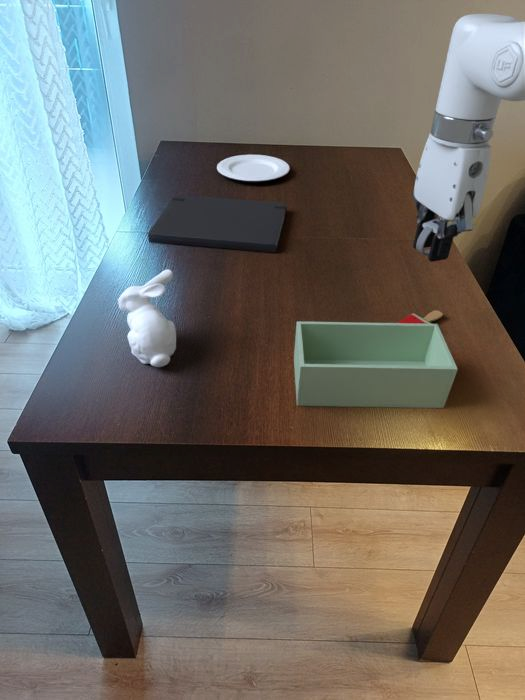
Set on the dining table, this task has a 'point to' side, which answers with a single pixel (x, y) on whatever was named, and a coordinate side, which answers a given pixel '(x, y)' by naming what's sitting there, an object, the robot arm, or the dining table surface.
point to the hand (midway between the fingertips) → (429, 252)
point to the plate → (253, 168)
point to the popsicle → (419, 320)
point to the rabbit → (149, 322)
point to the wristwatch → (427, 234)
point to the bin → (372, 365)
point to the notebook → (220, 223)
